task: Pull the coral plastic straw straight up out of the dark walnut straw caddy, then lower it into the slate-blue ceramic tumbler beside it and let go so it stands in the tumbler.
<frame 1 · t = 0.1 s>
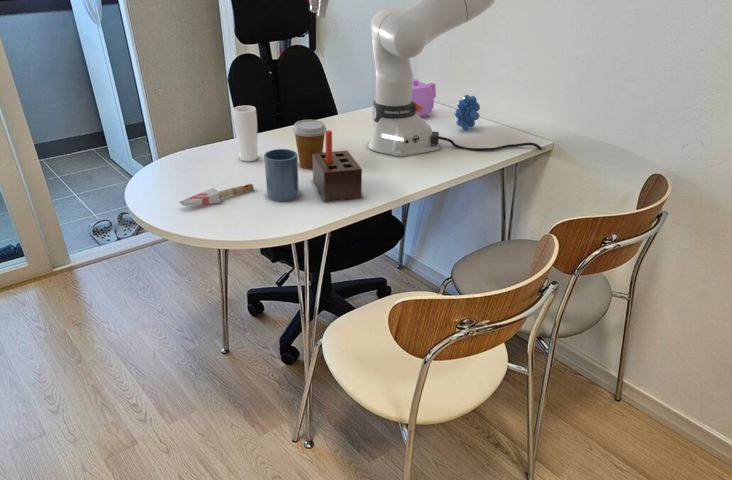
hand: (317, 14, 150), 39 cm above the table, tool pointing down, fingers open, 8 cm apart
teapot: (411, 116, 205), on the table
tumbler: (282, 194, 146), on the table
grapes: (467, 131, 191), on the table
drinking glass: (248, 159, 167), on the table
paintbrush: (218, 200, 143), on the table
straw: (329, 190, 149), resting in caddy
caddy: (336, 189, 149), on the table
disposable coffee cup: (310, 165, 164), on the table
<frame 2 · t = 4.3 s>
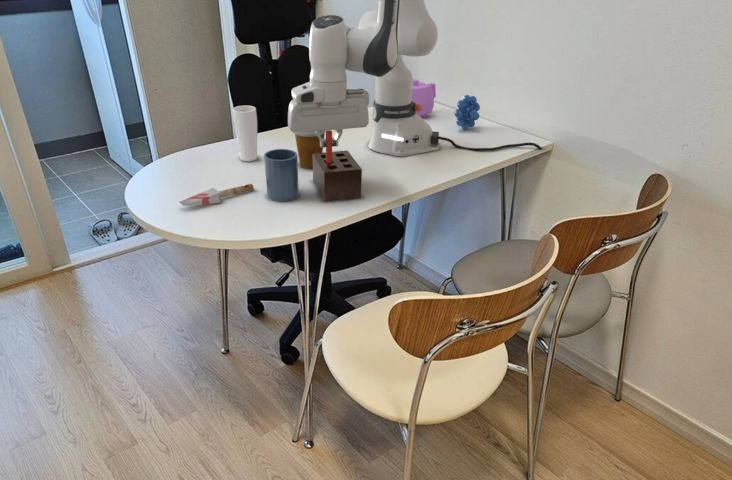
hand: (328, 146, 142), 12 cm above the table, tool pointing down, fingers closed on straw, 1 cm apart
straw: (329, 190, 149), resting in caddy, touching gripper
everything else where it was.
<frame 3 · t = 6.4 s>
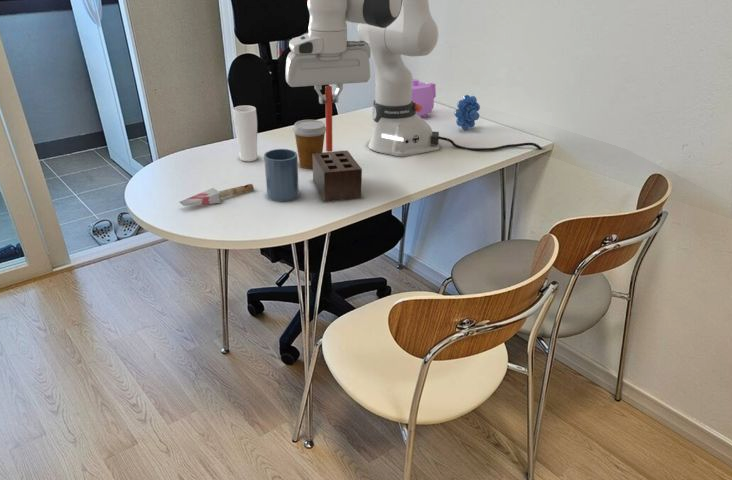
hand: (328, 102, 136), 23 cm above the table, tool pointing down, fingers closed on straw
straw: (329, 150, 143), point 11 cm above the table, touching gripper
everything else where it was.
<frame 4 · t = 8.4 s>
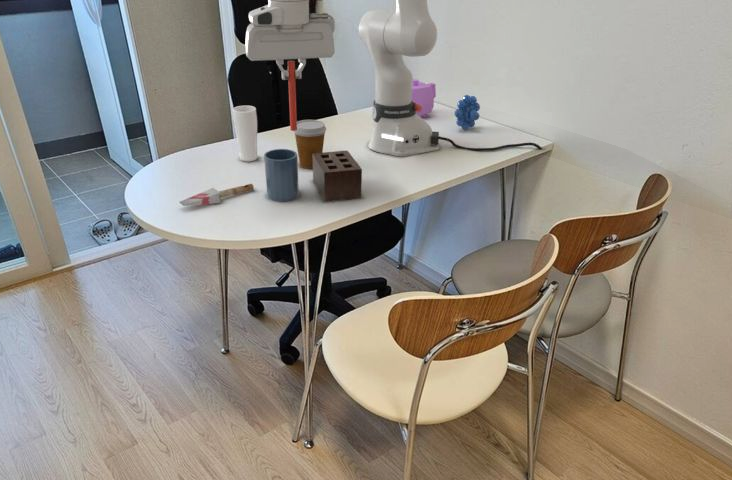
hand: (291, 78, 130), 29 cm above the table, tool pointing down, fingers closed on straw
straw: (293, 129, 137), point 17 cm above the table, touching gripper
everything else where it was.
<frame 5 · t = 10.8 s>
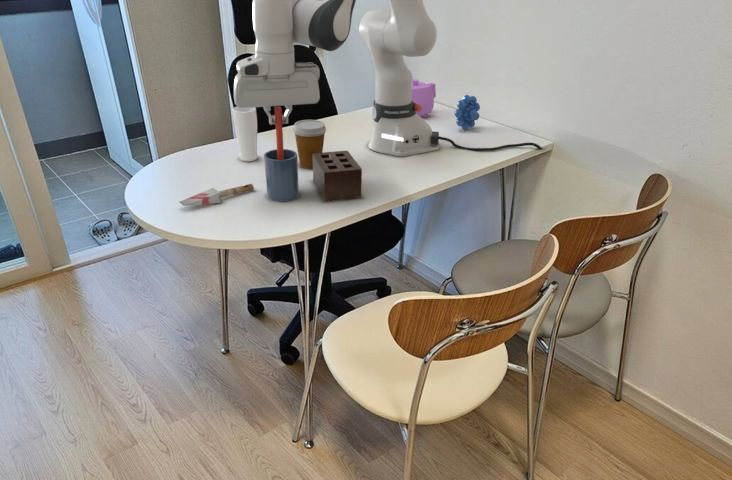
hand: (278, 123, 135), 19 cm above the table, tool pointing down, fingers closed on straw
straw: (281, 170, 142), point 7 cm above the table, touching gripper
everything else where it was.
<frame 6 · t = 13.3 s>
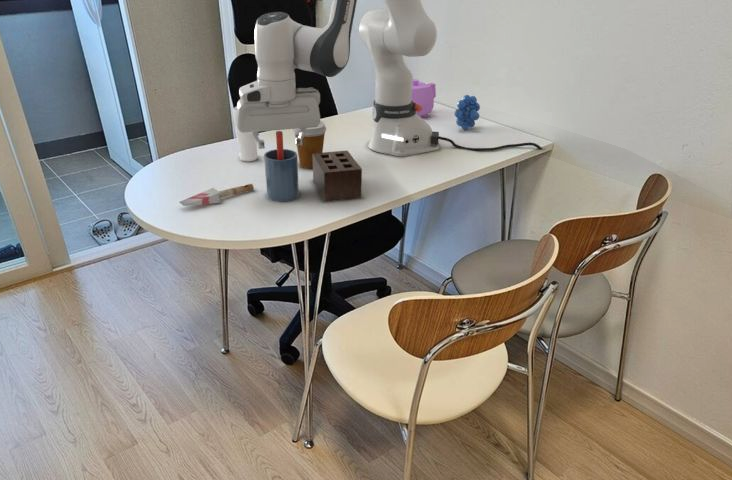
hand: (280, 146, 138), 13 cm above the table, tool pointing down, fingers open, 8 cm apart
straw: (282, 192, 145), point 1 cm above the table, touching tumbler
everything else where it was.
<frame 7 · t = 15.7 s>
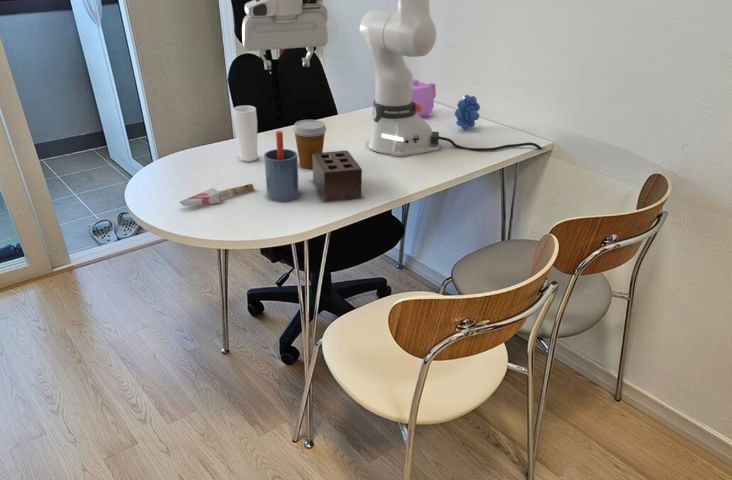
hand: (287, 67, 136), 30 cm above the table, tool pointing down, fingers open, 8 cm apart
nothing on the table moved.
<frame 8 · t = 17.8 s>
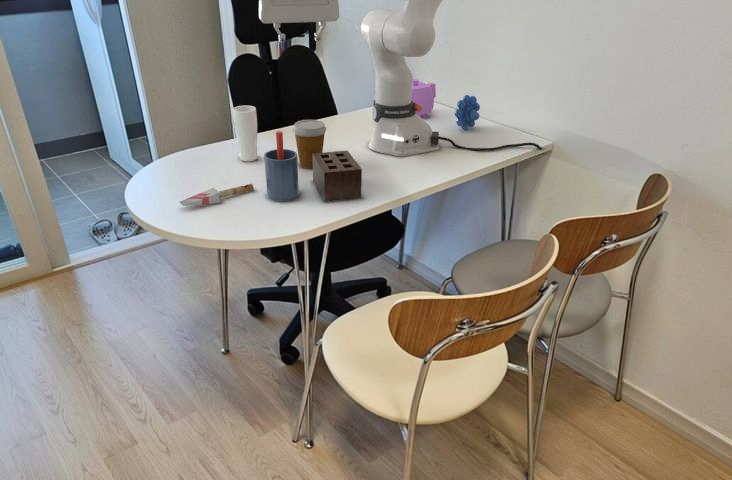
hand: (300, 41, 143), 34 cm above the table, tool pointing down, fingers open, 8 cm apart
nothing on the table moved.
at the end: straw 0.1 cm off-centre in the tumbler, point 0.8 cm above the tumbler's base; straw tilted 0°; the gripper is holding nothing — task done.
